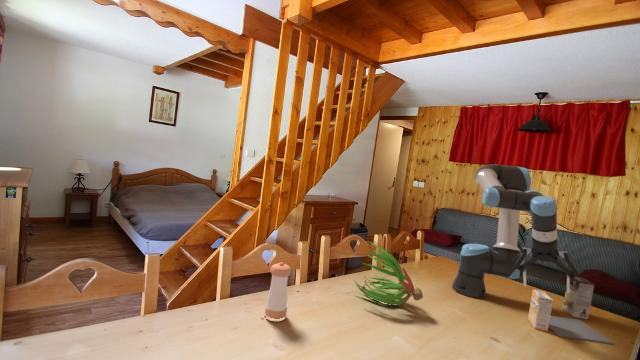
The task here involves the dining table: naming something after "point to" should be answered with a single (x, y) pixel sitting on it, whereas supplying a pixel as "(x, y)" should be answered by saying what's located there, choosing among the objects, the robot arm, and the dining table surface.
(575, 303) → the coffee box
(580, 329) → the mat
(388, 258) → the decorative plant
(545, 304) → the supplement box
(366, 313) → the dining table surface
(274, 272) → the pepper shaker
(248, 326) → the dining table surface
